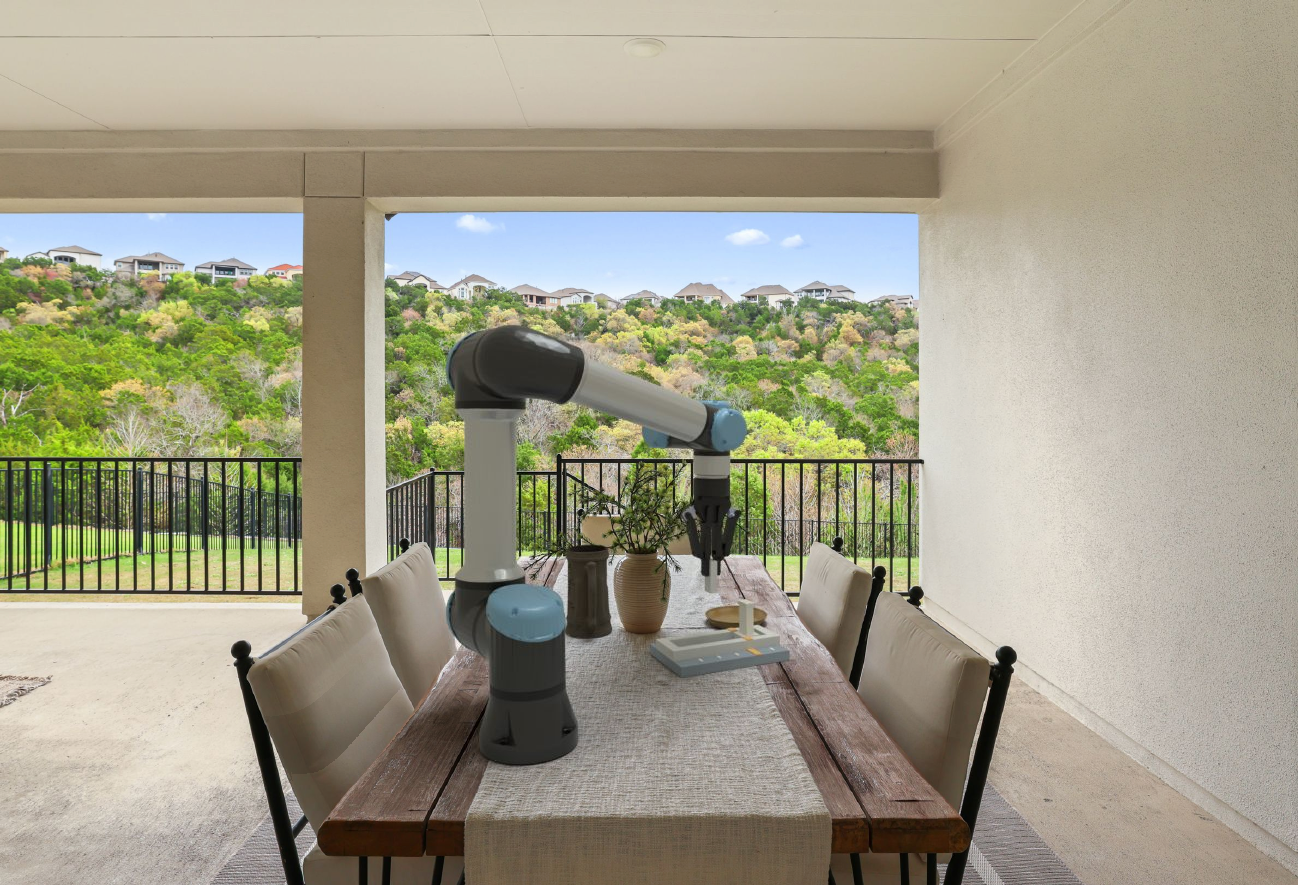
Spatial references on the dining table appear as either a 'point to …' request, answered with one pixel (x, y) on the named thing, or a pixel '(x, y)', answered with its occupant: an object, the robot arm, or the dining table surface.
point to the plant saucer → (731, 616)
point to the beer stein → (588, 592)
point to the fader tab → (745, 619)
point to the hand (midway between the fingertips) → (710, 591)
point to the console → (718, 651)
